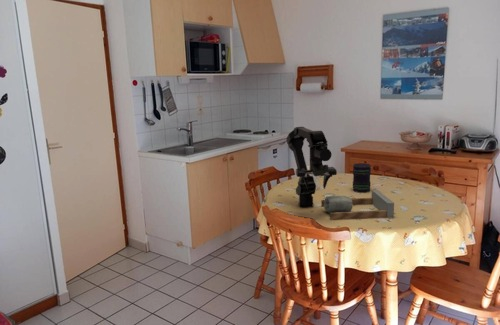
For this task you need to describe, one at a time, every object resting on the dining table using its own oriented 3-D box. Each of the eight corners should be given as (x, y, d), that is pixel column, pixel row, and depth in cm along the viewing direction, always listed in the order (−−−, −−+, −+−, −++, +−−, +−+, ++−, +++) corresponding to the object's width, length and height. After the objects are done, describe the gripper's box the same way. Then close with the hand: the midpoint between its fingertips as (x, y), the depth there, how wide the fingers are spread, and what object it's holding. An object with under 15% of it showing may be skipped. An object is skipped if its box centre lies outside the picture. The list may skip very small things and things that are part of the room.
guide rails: (330, 219, 177) (330, 213, 176) (321, 205, 197) (321, 200, 197) (386, 217, 177) (387, 211, 177) (371, 203, 198) (371, 197, 197)
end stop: (387, 217, 177) (387, 203, 175) (371, 202, 198) (371, 189, 197) (393, 217, 177) (394, 202, 175) (377, 202, 198) (377, 189, 197)
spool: (322, 209, 182) (327, 189, 184) (321, 211, 191) (326, 192, 193) (351, 217, 179) (355, 196, 181) (348, 219, 188) (353, 200, 191)
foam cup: (321, 190, 223) (321, 169, 221) (305, 191, 224) (305, 169, 221) (318, 186, 233) (318, 165, 230) (303, 186, 233) (303, 166, 230)
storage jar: (368, 188, 225) (369, 163, 222) (372, 192, 215) (372, 166, 212) (351, 188, 226) (351, 163, 223) (354, 193, 216) (354, 167, 213)
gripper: (298, 161, 173) (299, 194, 176) (339, 159, 174) (339, 192, 177) (295, 157, 184) (295, 188, 187) (333, 155, 185) (333, 186, 188)
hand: (315, 189), depth 185 cm, fingers open, 8 cm apart
